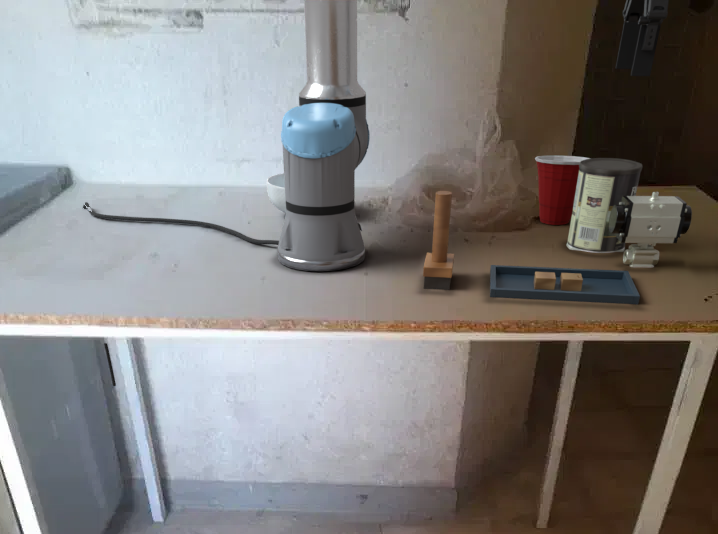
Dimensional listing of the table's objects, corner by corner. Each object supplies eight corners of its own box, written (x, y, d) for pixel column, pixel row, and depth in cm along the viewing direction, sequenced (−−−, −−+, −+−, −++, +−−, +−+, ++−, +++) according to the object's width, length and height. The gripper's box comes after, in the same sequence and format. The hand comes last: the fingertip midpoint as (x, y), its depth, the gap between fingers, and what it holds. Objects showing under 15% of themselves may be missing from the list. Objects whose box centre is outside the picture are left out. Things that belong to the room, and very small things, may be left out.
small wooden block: (560, 290, 112) (562, 279, 111) (559, 283, 115) (561, 272, 114) (580, 291, 112) (583, 279, 111) (579, 284, 114) (581, 273, 113)
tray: (489, 300, 111) (490, 289, 110) (489, 275, 120) (490, 264, 119) (637, 308, 108) (640, 296, 107) (625, 281, 117) (628, 270, 116)
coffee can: (621, 240, 135) (638, 158, 127) (627, 257, 127) (646, 170, 119) (564, 237, 137) (577, 156, 129) (566, 254, 129) (581, 168, 121)
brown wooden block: (534, 289, 113) (536, 277, 112) (533, 282, 115) (535, 271, 114) (554, 290, 113) (556, 278, 112) (552, 283, 115) (554, 272, 114)
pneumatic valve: (600, 262, 125) (614, 188, 118) (670, 263, 124) (688, 188, 117) (607, 273, 121) (623, 196, 114) (679, 274, 120) (700, 197, 113)
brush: (422, 292, 114) (427, 198, 106) (425, 276, 120) (430, 186, 112) (450, 293, 113) (457, 199, 105) (452, 278, 119) (459, 187, 111)
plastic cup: (582, 215, 150) (593, 151, 143) (582, 230, 141) (594, 163, 134) (528, 212, 152) (536, 149, 145) (525, 226, 143) (534, 160, 136)
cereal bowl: (333, 229, 143) (333, 191, 139) (255, 222, 147) (253, 185, 143) (358, 207, 156) (359, 172, 152) (286, 202, 161) (284, 168, 156)
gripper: (718, -111, 93) (674, 79, 105) (672, -92, 114) (640, 66, 126) (657, -111, 94) (621, 78, 106) (623, -92, 115) (595, 65, 127)
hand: (631, 72), depth 116 cm, fingers open, 13 cm apart
